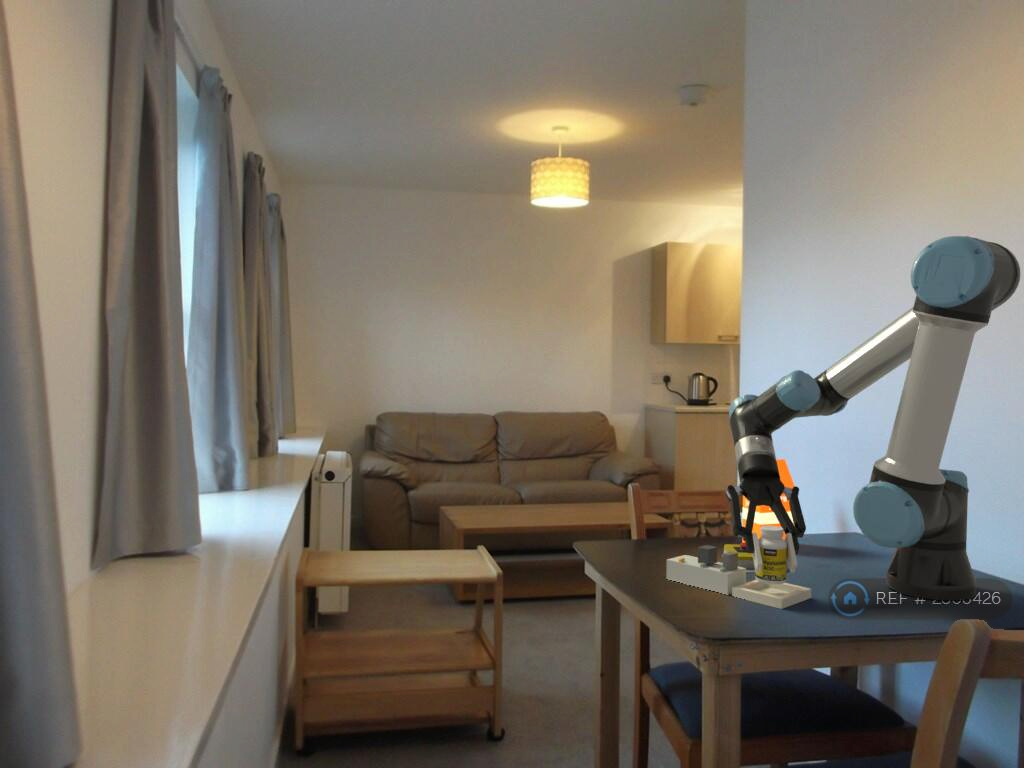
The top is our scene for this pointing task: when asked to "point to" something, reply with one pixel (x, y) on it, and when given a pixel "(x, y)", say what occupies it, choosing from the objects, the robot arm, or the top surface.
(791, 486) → the orange juice
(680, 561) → the long low white box
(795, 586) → the shallow cream rectangular tray
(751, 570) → the emergency button
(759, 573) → the supplement bottle
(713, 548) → the switch
